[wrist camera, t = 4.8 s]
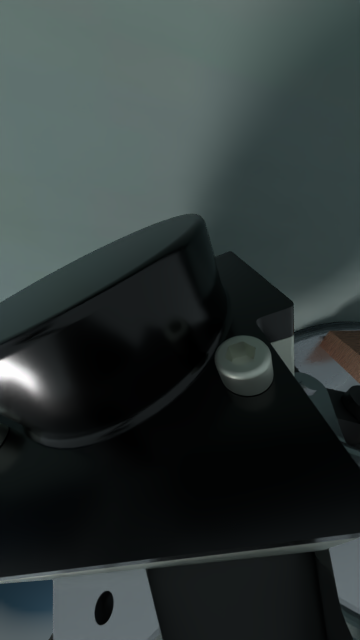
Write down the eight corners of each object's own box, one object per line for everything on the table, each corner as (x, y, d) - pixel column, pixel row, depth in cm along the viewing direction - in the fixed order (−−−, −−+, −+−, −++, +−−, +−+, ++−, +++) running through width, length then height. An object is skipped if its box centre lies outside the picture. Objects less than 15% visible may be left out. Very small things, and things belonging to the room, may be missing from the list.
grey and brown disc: (250, 319, 14) (319, 416, 8) (437, 318, 15) (618, 399, 9) (215, 425, 24) (233, 503, 18) (330, 418, 25) (383, 488, 19)
